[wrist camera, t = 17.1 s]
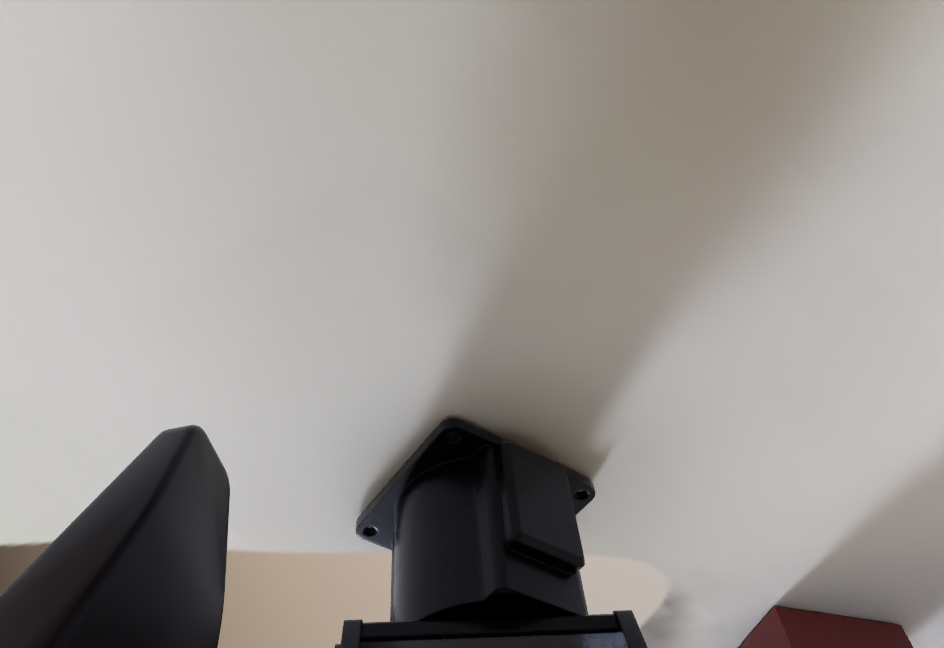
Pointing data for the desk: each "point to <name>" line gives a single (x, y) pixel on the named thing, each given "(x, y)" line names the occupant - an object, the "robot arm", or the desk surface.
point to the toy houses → (823, 632)
